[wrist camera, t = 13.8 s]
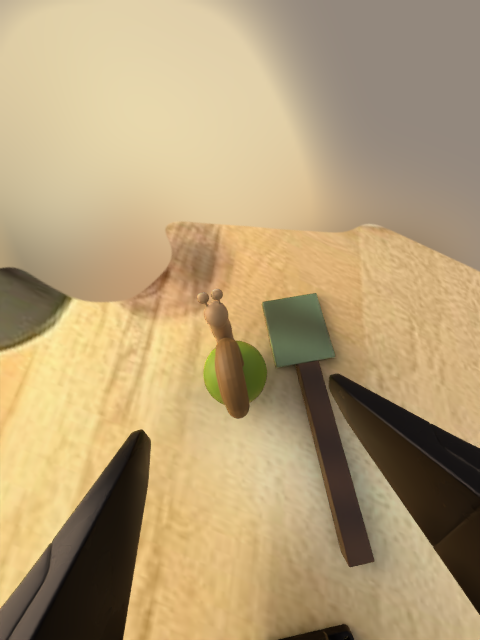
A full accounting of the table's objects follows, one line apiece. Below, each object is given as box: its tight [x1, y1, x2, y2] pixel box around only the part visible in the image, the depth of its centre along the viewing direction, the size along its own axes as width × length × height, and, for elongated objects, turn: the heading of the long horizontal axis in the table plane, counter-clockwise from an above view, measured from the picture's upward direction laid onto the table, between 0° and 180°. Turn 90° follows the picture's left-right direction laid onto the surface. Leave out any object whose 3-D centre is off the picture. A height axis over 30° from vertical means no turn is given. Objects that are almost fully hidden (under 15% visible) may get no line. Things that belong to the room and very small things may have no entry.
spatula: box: [262, 293, 374, 567], centre depth 18 cm, size 22×6×1 cm, turn 10°
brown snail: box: [197, 289, 267, 418], centre depth 14 cm, size 5×6×12 cm
